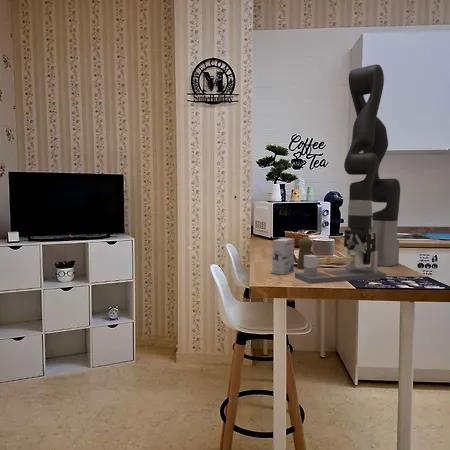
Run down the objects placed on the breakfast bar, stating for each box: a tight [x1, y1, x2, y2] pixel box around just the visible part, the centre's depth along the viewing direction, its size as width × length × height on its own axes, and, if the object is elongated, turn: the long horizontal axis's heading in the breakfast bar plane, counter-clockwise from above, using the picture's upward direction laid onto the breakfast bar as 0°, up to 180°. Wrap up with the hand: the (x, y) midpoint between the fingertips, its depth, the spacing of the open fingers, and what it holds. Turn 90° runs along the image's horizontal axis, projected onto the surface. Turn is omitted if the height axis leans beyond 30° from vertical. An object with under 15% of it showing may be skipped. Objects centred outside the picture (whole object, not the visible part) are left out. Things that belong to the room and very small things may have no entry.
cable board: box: [294, 251, 387, 284], centre depth 136 cm, size 28×10×8 cm, turn 107°
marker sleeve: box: [346, 249, 371, 268], centre depth 138 cm, size 5×6×5 cm
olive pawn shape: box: [296, 238, 313, 271], centre depth 153 cm, size 6×6×11 cm
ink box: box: [271, 237, 295, 276], centre depth 145 cm, size 9×5×12 cm, turn 148°
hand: (358, 262), depth 138 cm, fingers open, 8 cm apart
